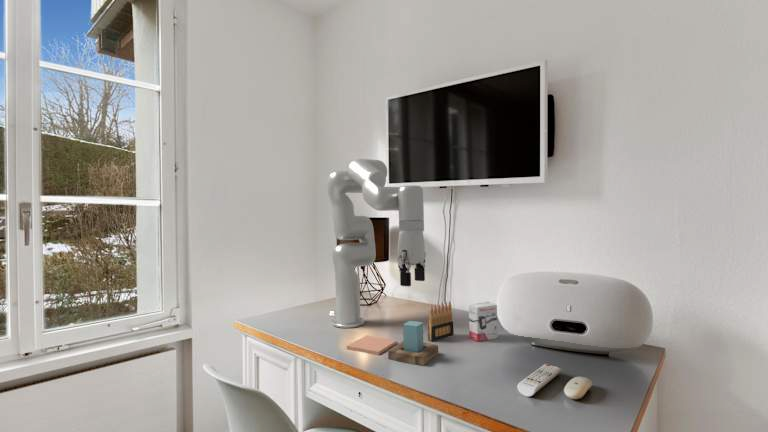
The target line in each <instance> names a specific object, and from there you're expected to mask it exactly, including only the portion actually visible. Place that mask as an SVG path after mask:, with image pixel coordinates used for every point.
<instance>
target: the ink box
mask: <svg viewBox="0 0 768 432" xmlns="http://www.w3.org/2000/svg"><path fill="white" fill-rule="evenodd" d="M468 325H469V326H468V327H469V328H468V329H469V331H468V332H469V335H468V336H469V339H471V340H473V341H475V342H477V343H479V342H484V341H490V340H495V339H498V305H497V304H495V303H493V302H490V301H481V302H475V303H470V304H468Z"/></svg>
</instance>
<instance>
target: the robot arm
mask: <svg viewBox="0 0 768 432" xmlns="http://www.w3.org/2000/svg"><path fill="white" fill-rule="evenodd" d="M387 177H388V168H387V165H386V163H384V162H383V161H382V160H380V159H370V158H369V159H366V158H358V159H355V160H354V159H353V161H351V162H350V163H349V165H348V168H347V170H337V171H333V172H331V173H330V174H329V176H328V177H327V182H326V189H327V195H328V197H329V201H330V203H331V207H332V208H331V210H332V221H333V232H334V235H335V237H336V239H337V240H341V241H351V240H352V241H353V240H358V241H359V242H351V243H350V242H349V243H341V244H338V245H336V246H335V247H334V248H333V250H332V252H331V253H332V255H331V257H332V262H333V266H334V275H335V277H334V278H335V279H334V280H335V283H334V284H335V310H330V311H329V314H328V316H329V317H330V318H333V320H332V322H331V323H332V326H334V327H337V328H342V329H343V328H344V329H345V328H347V329H350V328H351V329H352V328H357V327H361V326H363V325H364V324H365V319H364V318H362V317H361V295H360V294H361V285H360V284H361V281H360V280H361V278H360V276H359V274H358V273H357V271H356V270H355V269H354V268H358V267H366V266H371V265H373V264H374V262H375V261H376V256H377V255H376V254H377V253H376V241H375V231H374V230H375V229H374V225H373V222H372V220H371V219H370V218H369V217H368V216H366V215H355V210H354V209H355V206H354V204H353V201H352V200H351V198H350V197H349V195H347V193H348V194H350V193H351V194H352V193H353V194H354V193H355V194H359V193H360V194H362V198H363V200H364V202H366V203H367V205H368V206H370V207H371V208H373V209H374V210H376V211H379V212H380V211H381V212H384V211H392V212H393V211H395V212H398V230H399V231H398V232H399V233H398V239H397V259H396V261H397V264H398V266H397V267H398V269H399V274H400V275H399V276H400V279H399V282H400V287H411V286H412V273H411V272H410V271H411V267H412V266H415V267H414V281H416V282H417V281H418V282H424V281H425V280H426V279H425V277H426V276H425V275H426V274H425V267H426V255H427V254H426V252H425V239H424V238H425V237H424V232H425V217H424V216H425V214H424V213H425V212H424V211H425V209H424V189H423V187H421V186H420V185H404V186H386V183H387Z"/></svg>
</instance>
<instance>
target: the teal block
mask: <svg viewBox="0 0 768 432" xmlns="http://www.w3.org/2000/svg"><path fill="white" fill-rule="evenodd" d="M402 331H403V332H402V334H403V336H402V337H403V340H402V341H403V343H404V351H410V352H415V353H420V352H421V351H422V350H423V343H424V322H421V321H413V320H409V321H407V322H405V323H404V324H402Z"/></svg>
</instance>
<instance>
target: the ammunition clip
mask: <svg viewBox="0 0 768 432" xmlns="http://www.w3.org/2000/svg"><path fill="white" fill-rule="evenodd" d="M428 317H429V318H428V319H429V320H428V321H429V325H428V326H427V327H428V329H427V330H428V334H427V336H428V339H427V340H428V341H430V342H436V341H439V340H442V339H443V340H444V339H446V338H449V337H453V336H455V334H454V321H453V313H452V304H451V301H448V303H447V302H445V303H443V302H442V303H441V305H440V303H438V304H437V305H436V304H434V305H430V308H429V316H428Z"/></svg>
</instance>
